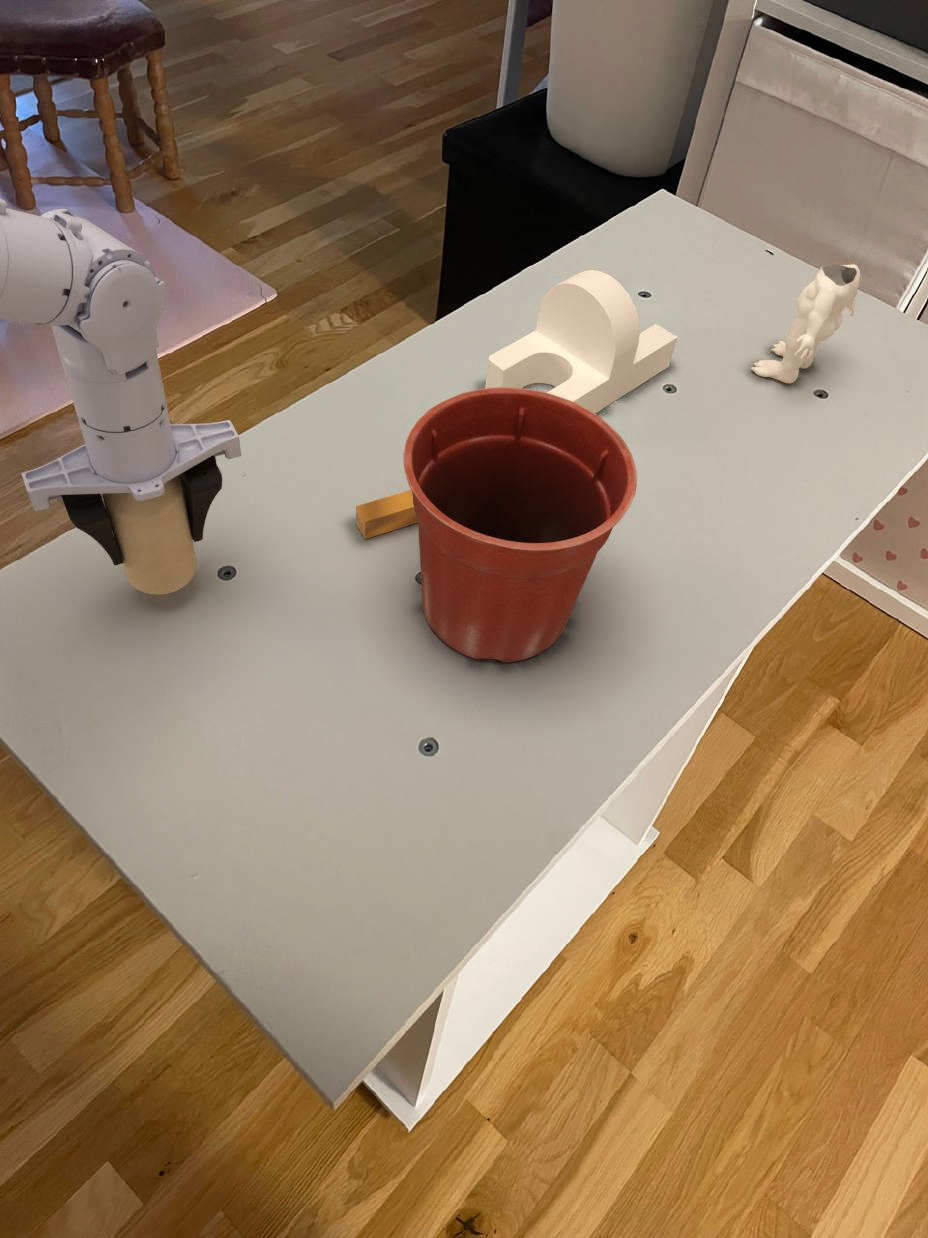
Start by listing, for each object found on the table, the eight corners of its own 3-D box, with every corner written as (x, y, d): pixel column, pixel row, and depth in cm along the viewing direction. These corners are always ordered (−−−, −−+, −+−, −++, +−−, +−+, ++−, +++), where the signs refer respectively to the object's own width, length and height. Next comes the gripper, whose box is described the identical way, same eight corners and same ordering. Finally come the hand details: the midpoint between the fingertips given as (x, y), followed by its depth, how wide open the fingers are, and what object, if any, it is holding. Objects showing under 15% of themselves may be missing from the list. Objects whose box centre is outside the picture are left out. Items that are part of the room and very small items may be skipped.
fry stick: (365, 539, 85) (365, 521, 83) (355, 523, 86) (355, 506, 84) (506, 495, 90) (509, 477, 88) (496, 480, 91) (498, 463, 89)
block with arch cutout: (598, 322, 108) (619, 227, 99) (668, 366, 104) (696, 272, 95) (481, 388, 99) (493, 291, 90) (553, 440, 95) (572, 344, 86)
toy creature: (787, 332, 109) (828, 232, 100) (837, 356, 107) (883, 257, 98) (735, 382, 103) (773, 280, 94) (787, 408, 101) (831, 307, 92)
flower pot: (595, 544, 87) (635, 400, 74) (594, 699, 77) (640, 562, 64) (409, 522, 87) (417, 374, 74) (384, 674, 77) (388, 532, 64)
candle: (205, 547, 79) (188, 454, 72) (186, 599, 76) (166, 508, 68) (137, 538, 79) (112, 444, 72) (115, 590, 76) (87, 498, 68)
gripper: (19, 472, 60) (70, 611, 71) (248, 414, 65) (264, 552, 76) (-5, 402, 64) (47, 543, 75) (213, 351, 69) (233, 491, 79)
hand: (155, 543), depth 75 cm, fingers closed on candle, 5 cm apart
